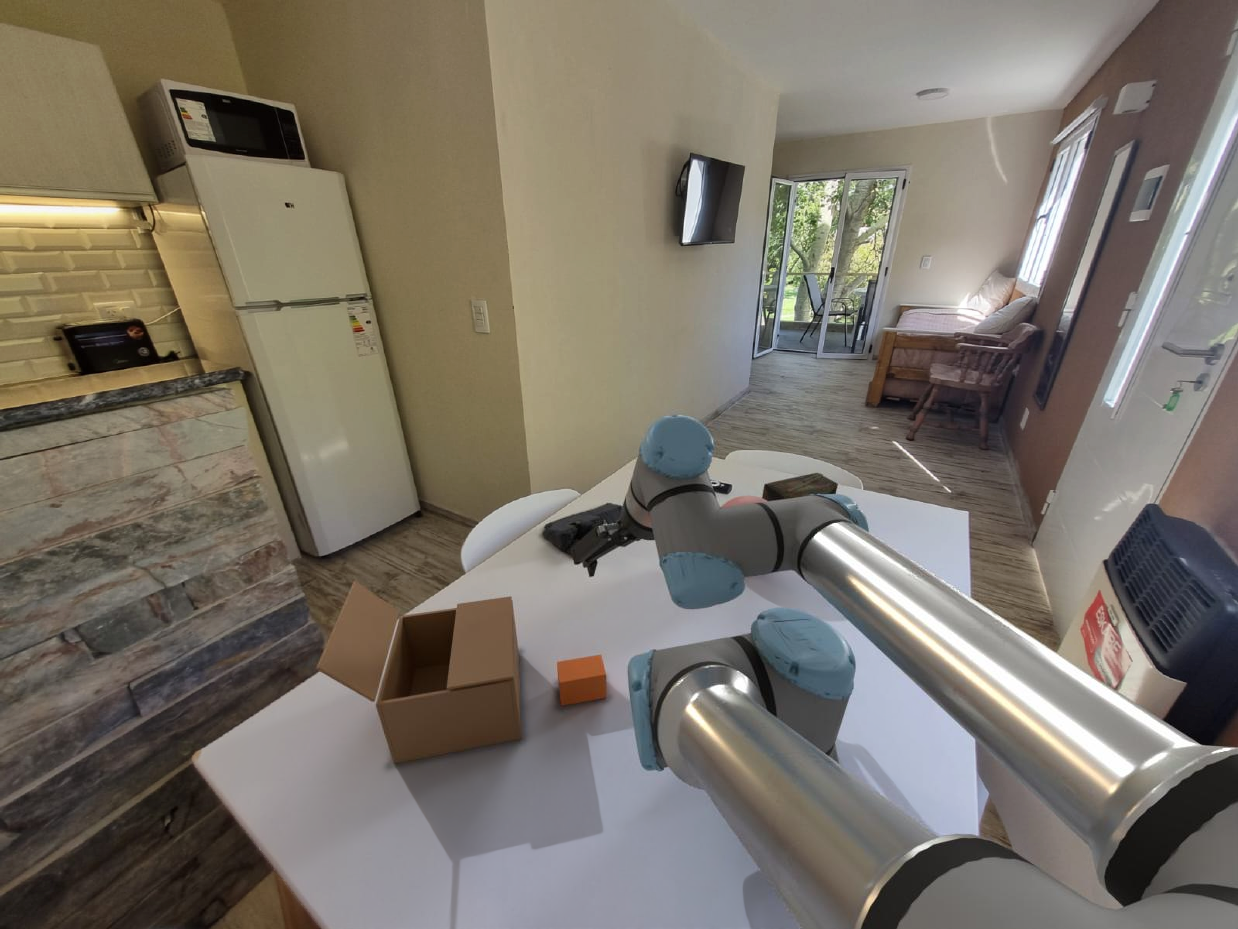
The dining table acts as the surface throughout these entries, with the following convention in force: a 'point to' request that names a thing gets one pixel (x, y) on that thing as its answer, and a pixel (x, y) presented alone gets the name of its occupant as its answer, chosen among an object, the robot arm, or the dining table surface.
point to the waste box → (452, 681)
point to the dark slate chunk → (579, 525)
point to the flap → (360, 642)
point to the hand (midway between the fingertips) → (628, 560)
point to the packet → (581, 679)
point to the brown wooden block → (799, 487)
